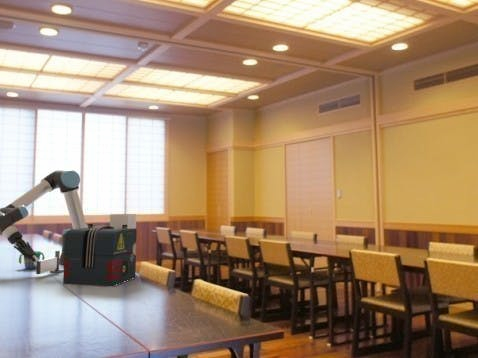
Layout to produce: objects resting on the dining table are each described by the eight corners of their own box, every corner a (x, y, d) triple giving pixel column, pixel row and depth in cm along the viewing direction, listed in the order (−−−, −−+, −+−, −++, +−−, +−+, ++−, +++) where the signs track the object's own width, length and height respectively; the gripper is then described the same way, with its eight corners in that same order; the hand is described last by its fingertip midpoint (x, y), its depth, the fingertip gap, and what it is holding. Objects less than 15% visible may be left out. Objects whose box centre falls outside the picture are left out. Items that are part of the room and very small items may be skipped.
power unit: (112, 287, 238) (114, 226, 239) (62, 284, 243) (64, 225, 245) (135, 278, 265) (137, 224, 267) (90, 276, 271) (91, 223, 272)
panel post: (58, 270, 290) (59, 250, 291) (66, 271, 286) (67, 250, 286) (46, 272, 284) (47, 251, 284) (54, 273, 279) (55, 251, 280)
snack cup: (40, 266, 309) (41, 250, 309) (47, 268, 301) (47, 251, 302) (15, 268, 298) (16, 251, 298) (21, 270, 290) (22, 253, 291)
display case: (108, 274, 278) (110, 214, 280) (117, 271, 288) (118, 213, 290) (126, 275, 275) (128, 214, 277) (134, 272, 286) (136, 214, 288)
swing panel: (53, 268, 283) (54, 257, 283) (56, 269, 283) (57, 257, 283) (36, 274, 262) (36, 261, 262) (39, 274, 262) (39, 261, 262)
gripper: (14, 238, 281) (40, 268, 279) (1, 240, 268) (29, 271, 266) (23, 230, 281) (49, 259, 279) (11, 231, 268) (38, 262, 266)
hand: (39, 265), depth 272 cm, fingers closed
